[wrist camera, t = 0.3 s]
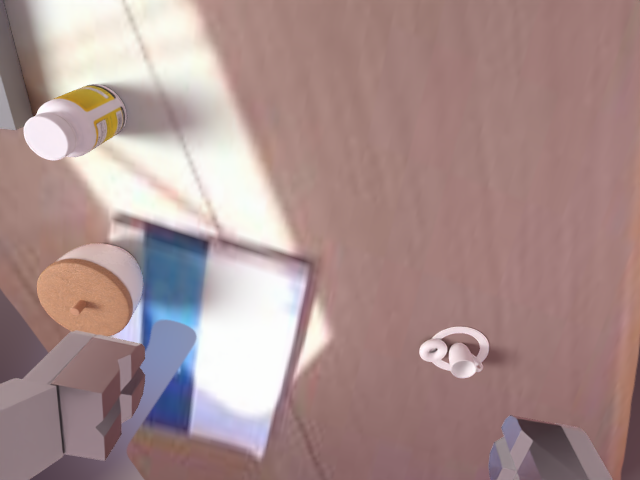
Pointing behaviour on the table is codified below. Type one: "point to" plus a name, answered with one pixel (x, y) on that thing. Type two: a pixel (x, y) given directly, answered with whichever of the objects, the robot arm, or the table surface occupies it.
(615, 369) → the table surface
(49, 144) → the supplement bottle
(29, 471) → the robot arm
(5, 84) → the dock
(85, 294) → the lidded jar
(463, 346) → the white cup and donut
